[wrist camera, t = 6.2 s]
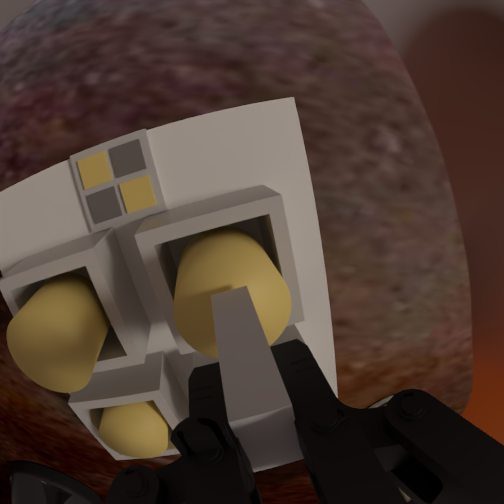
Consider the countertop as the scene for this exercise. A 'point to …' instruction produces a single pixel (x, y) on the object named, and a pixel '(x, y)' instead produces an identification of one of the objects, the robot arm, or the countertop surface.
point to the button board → (167, 242)
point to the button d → (226, 285)
